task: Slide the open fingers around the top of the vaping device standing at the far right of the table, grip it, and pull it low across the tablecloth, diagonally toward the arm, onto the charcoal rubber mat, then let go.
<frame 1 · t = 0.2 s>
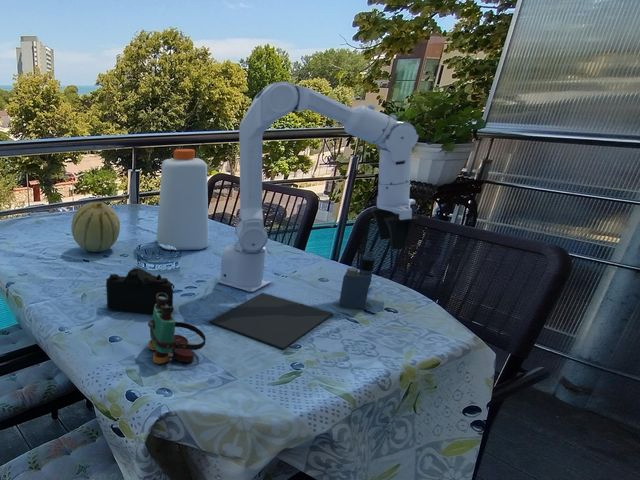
hand: (391, 243, 103), 11 cm above the table, tool pointing down, fingers open, 7 cm apart
mat: (271, 318, 94), on the table
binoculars: (175, 354, 83), on the table
vaping device: (352, 306, 98), on the table
cantaloupe: (96, 251, 141), on the table
plastic bottle: (181, 244, 144), on the table
film camera: (141, 305, 102), on the table
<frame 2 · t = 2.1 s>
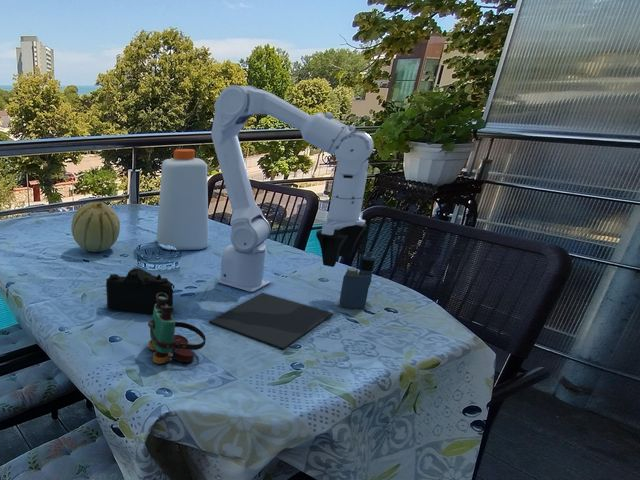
hand: (336, 261, 98), 9 cm above the table, tool pointing down, fingers open, 7 cm apart
nothing on the table moved.
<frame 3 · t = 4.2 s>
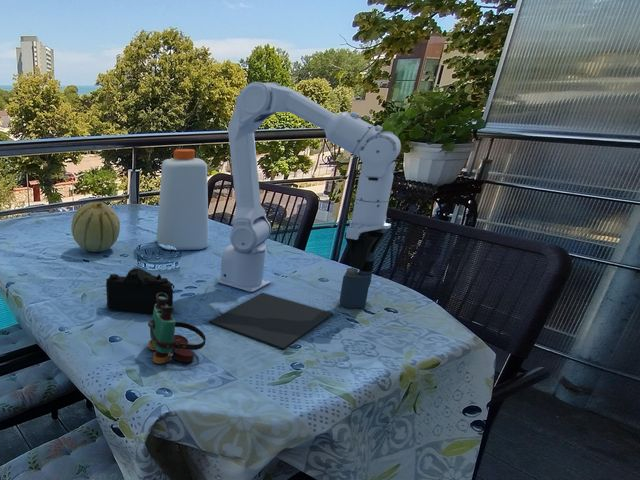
hand: (359, 266, 95), 9 cm above the table, tool pointing down, fingers closed on vaping device, 2 cm apart
vaping device: (352, 306, 98), on the table, touching gripper
everything else where it was.
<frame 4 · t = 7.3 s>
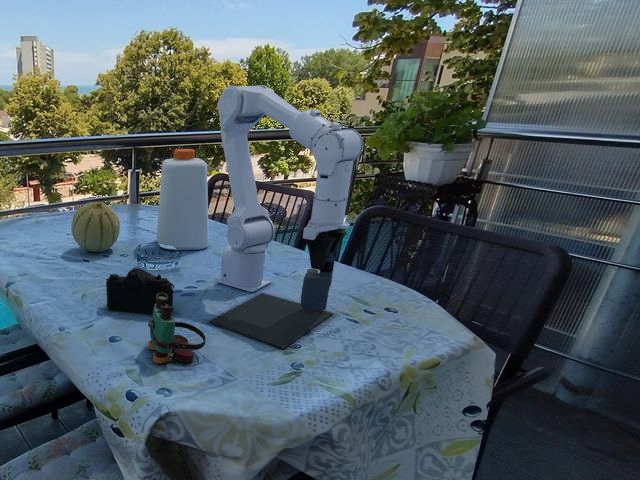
hand: (320, 266, 92), 10 cm above the table, tool pointing down, fingers closed on vaping device, 2 cm apart
vaping device: (313, 308, 96), point 1 cm above the table, touching gripper
everything else where it was.
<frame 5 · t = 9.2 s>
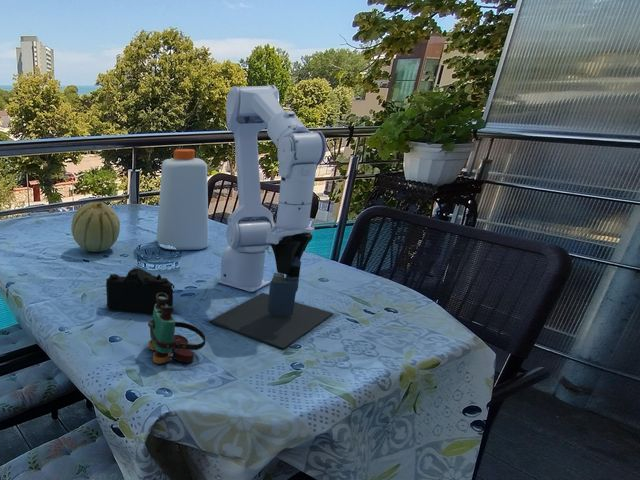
hand: (286, 271, 91), 10 cm above the table, tool pointing down, fingers closed on vaping device, 2 cm apart
vaping device: (280, 313, 94), point 1 cm above the table, touching gripper
everything else where it was.
when the fingers open (9 cm above the table, at t = 10.7 s): vaping device stays where it is, resting on mat.
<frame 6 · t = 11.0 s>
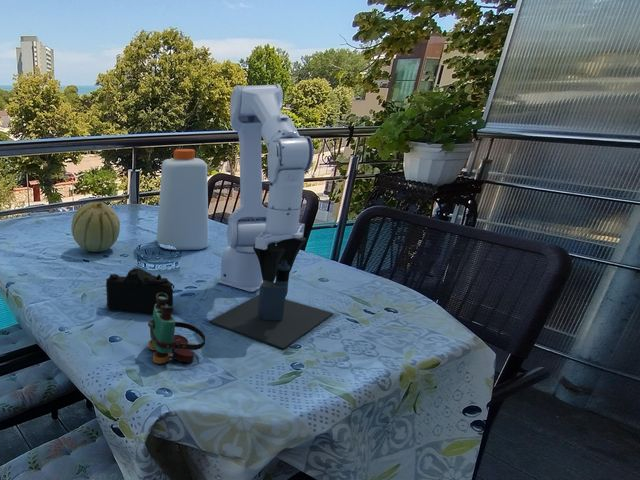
hand: (276, 276, 90), 9 cm above the table, tool pointing down, fingers open, 5 cm apart
vaping device: (270, 318, 93), resting on mat
everything else where it was.
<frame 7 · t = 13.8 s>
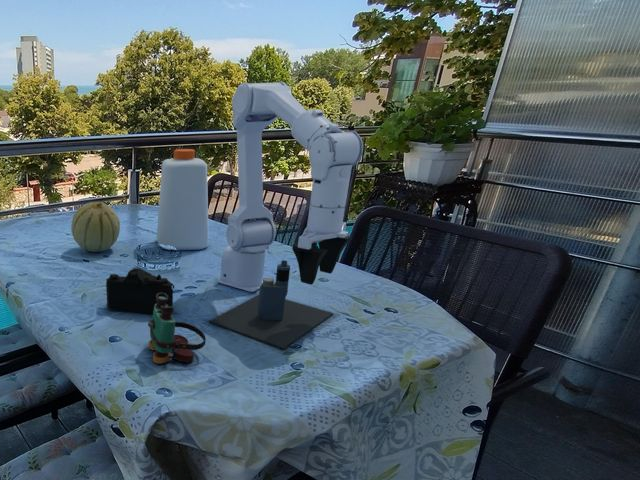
hand: (316, 277, 87), 10 cm above the table, tool pointing down, fingers open, 7 cm apart
nothing on the table moved.
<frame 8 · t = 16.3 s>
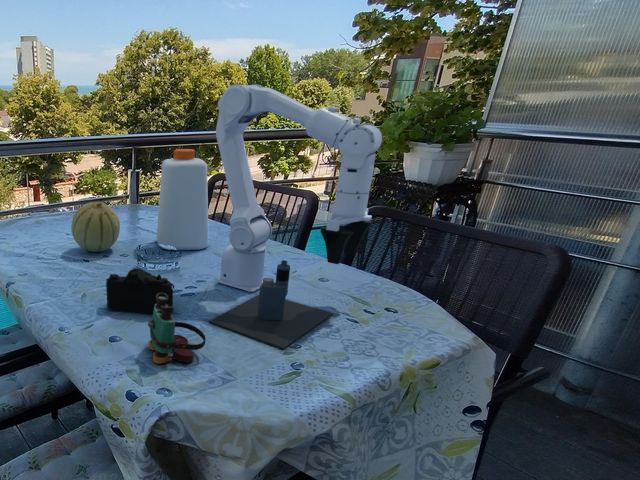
hand: (341, 258, 95), 10 cm above the table, tool pointing down, fingers open, 7 cm apart
nothing on the table moved.
at the end: vaping device inside the target area on the mat (0.5 cm from its centre), point 0.2 cm above the mat's base; vaping device moved 19.7 cm from its start; vaping device tilted 0° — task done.
